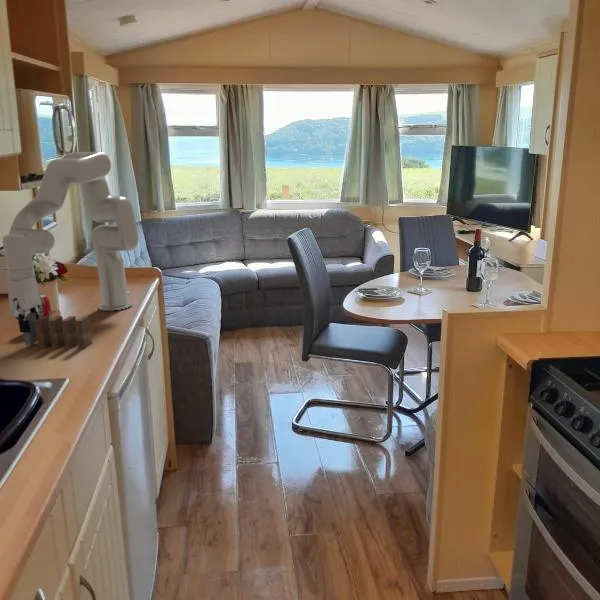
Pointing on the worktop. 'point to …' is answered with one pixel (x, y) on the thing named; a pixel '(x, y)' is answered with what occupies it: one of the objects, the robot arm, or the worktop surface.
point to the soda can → (45, 307)
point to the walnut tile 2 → (43, 332)
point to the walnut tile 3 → (56, 332)
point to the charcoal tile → (31, 330)
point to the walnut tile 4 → (70, 332)
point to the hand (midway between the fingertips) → (30, 328)
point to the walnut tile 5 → (83, 332)
